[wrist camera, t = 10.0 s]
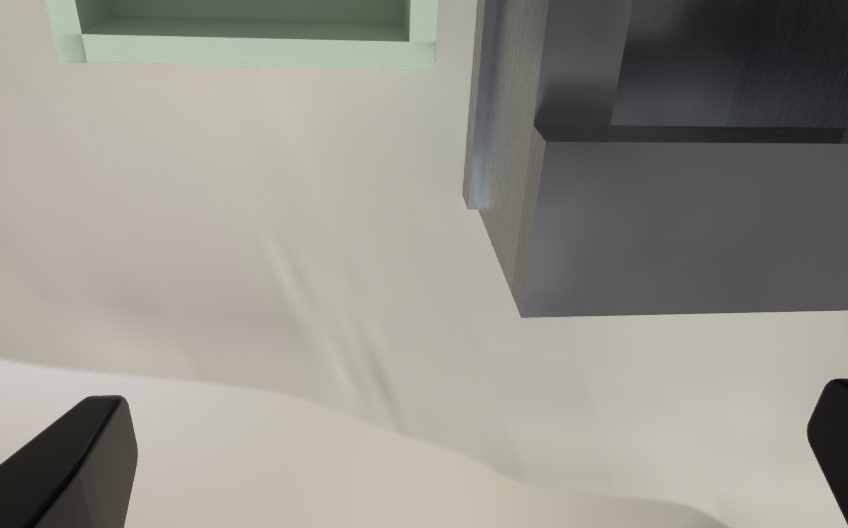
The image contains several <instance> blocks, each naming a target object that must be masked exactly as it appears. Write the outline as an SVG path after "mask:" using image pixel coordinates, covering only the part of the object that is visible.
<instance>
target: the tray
mask: <svg viewBox="0 0 848 528" xmlns="http://www.w3.org/2000/svg"><path fill="white" fill-rule="evenodd" d="M45 4H46V9H47V13H48V18H49V22H50V27H51V31H52V36H53V40H54V45H55V49H56V54H57V58H58V62H68V63H121V64H175V65H228V66H281V67H335V68H388V69H435V51H436V32H437V12H438V0H45Z"/></svg>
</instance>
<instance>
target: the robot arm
mask: <svg viewBox="0 0 848 528" xmlns="http://www.w3.org/2000/svg"><path fill="white" fill-rule="evenodd" d="M807 437H808V441H809V444H810V446H811V448H812V450H813V452H814V454H815V457H816V459H817V461H818V463H819V465H820V467H821V469H822V471H823V473H824V476H825V478H826V480H827V482H828V484H829V486H830V488H831V490H832V493H833V495H834V497H835V499H836V501H837V503H838V505H839V507H840V509H841V512H842V514H843V516H844V518H845V520H846V522H847V524H848V379H834V380H831V381H830V382H829V383H827V384H826V386H825V387H824V389H823V391H822V394H821V396H820V398H819V400H818V402H817V405H816V407H815V409H814V411H813V413H812V416H811V418H810V420H809V422H808V426H807ZM137 457H138V450H137V442H136V438H135V433H134V428H133V423H132V419H131V414H130V410H129V405H128V402H127V401H126V399H125V398H124V397H122V396H120V395H105V396H90V397H87V398H85V399H83V400H82V401H80V402H79V403H78V404H77V405H75V406H74V407H73V408H72V409H70V410H69V411H68V412H66V413H65V414H64V415H63V416H61V417H60V418H59V419H58V420H56V421H55V422H54V423H53V424H51V425H50V426H49V427H47V428H46V429H45V430H44V431H42V432H41V433H40V434H39V435H37V436H36V437H35V438H33V439H32V440H31V441H30V442H28V443H27V444H26V445H24V446H23V447H22V448H21V449H20V450H18V451H17V452H16V453H14V454H13V455H12V456H10V457H9V458H8V459H7V460H5V461H4V462H3V463H2V464H0V528H124V524H125V519H126V514H127V510H128V504H129V500H130V495H131V490H132V486H133V481H134V476H135V471H136V466H137Z"/></svg>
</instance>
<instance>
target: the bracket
mask: <svg viewBox="0 0 848 528" xmlns="http://www.w3.org/2000/svg"><path fill="white" fill-rule="evenodd" d="M463 197H464V200H465V203H466V206H467V208H468V209H478V210H479V213H480V215H481V218H482V220H483V223H484V225H485V228H486V230H487V233H488V235H489V238H490V240H491V243H492V245H493V248H494V250H495V253H496V255H497V258H498V260H499V263H500V265H501V268H502V270H503V273H504V275H505V278H506V280H507V283H508V285H509V288H510V290H511V293H512V296H513V298H514V301H515V303H516V306H517V308H518V311H519V313H520V316H521V318H526V317H571V316H616V315H661V314H705V313H750V312H795V311H840V310H848V0H478V5H477V18H476V30H475V43H474V56H473V69H472V81H471V94H470V107H469V120H468V133H467V145H466V158H465V171H464V184H463Z"/></svg>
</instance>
